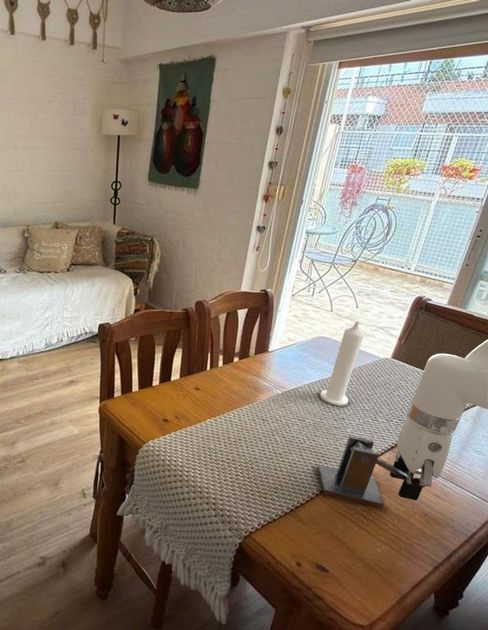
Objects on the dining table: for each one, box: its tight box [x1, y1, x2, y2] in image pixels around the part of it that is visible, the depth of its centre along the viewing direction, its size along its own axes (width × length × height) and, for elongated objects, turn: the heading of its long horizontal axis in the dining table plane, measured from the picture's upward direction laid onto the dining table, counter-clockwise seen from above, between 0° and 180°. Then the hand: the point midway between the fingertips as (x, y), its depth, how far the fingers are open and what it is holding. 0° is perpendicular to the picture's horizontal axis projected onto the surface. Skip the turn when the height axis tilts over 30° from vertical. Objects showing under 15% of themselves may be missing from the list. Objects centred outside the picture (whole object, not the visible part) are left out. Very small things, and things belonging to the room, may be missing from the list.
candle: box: [319, 320, 365, 407], centre depth 123 cm, size 7×7×25 cm
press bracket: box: [317, 435, 385, 509], centre depth 94 cm, size 11×8×12 cm
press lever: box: [350, 442, 408, 481], centre depth 92 cm, size 12×5×2 cm, turn 71°
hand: (402, 486), depth 92 cm, fingers closed on press lever, 5 cm apart
